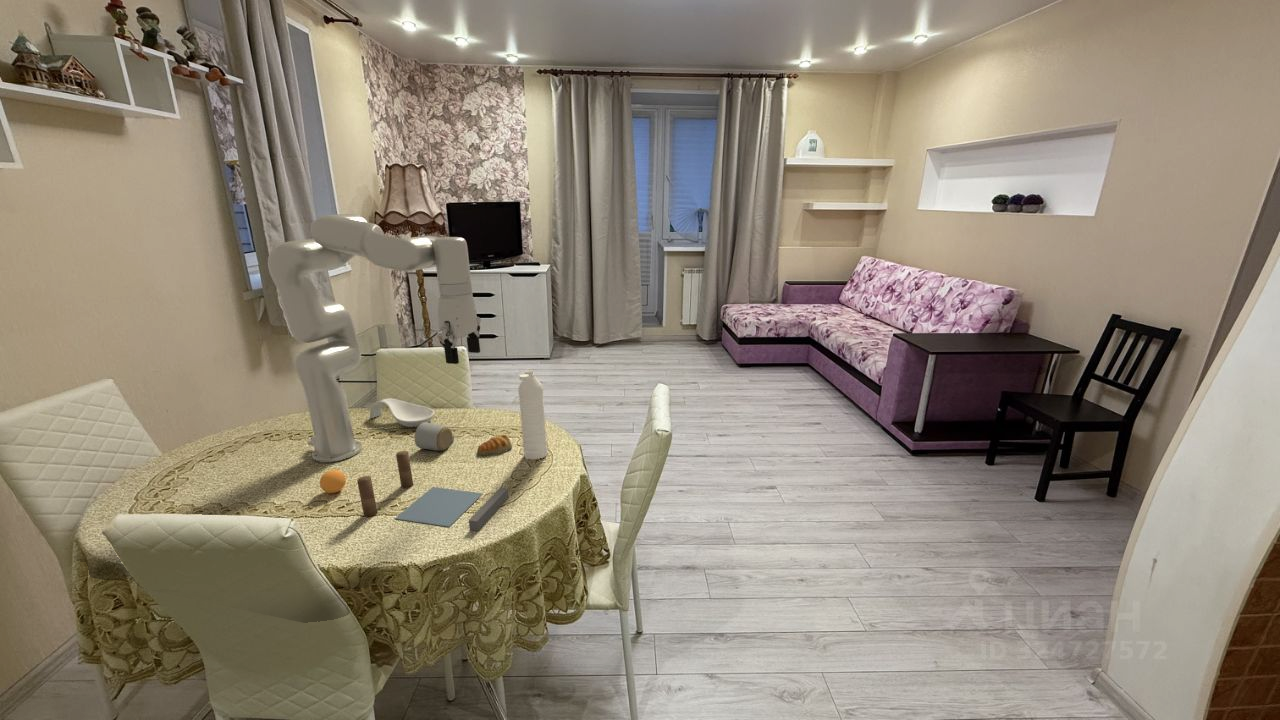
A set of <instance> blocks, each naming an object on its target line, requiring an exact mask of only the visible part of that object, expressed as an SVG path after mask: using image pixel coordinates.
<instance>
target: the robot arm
mask: <svg viewBox="0 0 1280 720" xmlns="http://www.w3.org/2000/svg"><path fill="white" fill-rule="evenodd" d="M310 235H311V238H310V239H298V240H297V239H296V240H291V241H286V242H282V243H279V244H277V245H276V246H274V247H273V248H272V250H270V252H269V254H268V258H267V268H268V272H269V275H270V277H271V279H272V282H273V283H274V285H275V287H276V289H277V291H278V294H279V296H280V300H281V303H282V307H283V310H284V312H285V316H286V320H287V322H288V326H289V328H290V329H289V330H290V332H291V334H292V336H293V338H294V339H295V340H296V341H297V342H299V343H302V344H312V343H315V342H319V341H322V340H326V339H327V342H326V343H322V344H318V345H315V346H313V347H309V348H307V349H305V350H303V351H302V352H300V353H299V354H298V355H297V356H296V358H295V360H294V369H295V370H294V371H295V372H296V375H297V377H298V379H299V380H300V383H301V386H302V388H303V392H304V396H305V401H306V404H307V407H308V413H309V417H310V423H311V428H312V431H313V435H312V436H310V439H309V440H308V441H307V446H310V447H311V446H312V447H314V448H313V449H314V450H313V452H312V453H311V457H312V458H313V459H314V460H313V459H312V460H313V461H315V460H316V461H315V462H317V461H320V462H319V463H333V462H334V461H335V462H339V461H340V462H341V461H343V459H344V460H347V459H348V458H349V459H350V458H352V457H354V456H355V455H358V453H360V451H361V450H362V449H363V445H362V442H361V441H358V440H356V439H355V435H354V431H353V425H352V420H351V419H352V418H351V415H350V409H349V404H348V399H347V394H346V391H345V389H344V387H343V386H342V385H341V383H339V381H338V380H337V379H336V377H339V376H340V375H343V374H345V373H348V372H350V371H352V370H355V369H356V368H357V367H358V366H359V365H360V363H361V361H362V352H361V347H360V345H359V344H360V343H359V340H358V336H357V333H356V328H355V325H354V321H353V318H352V315H351V314H350V312H349V311H348V309H347V308H346V307H345V306H344V305H343V304H341V303H339V302H336V301H326V302H322V301H321V299H320V295H319V291H318V289H317V287H316V286H315V284H314V283H313V282H312V281H311V280H310V279H309V278H308V277H307V276H306V275H307V274H312V273H321V272H327V271H333V270H336V269H337V270H338V269H339V268H342V267H343V266H345V265H346V264H347V263H349V261H350V260H352V259H353V258H354V257H355V256H358V257H361V258H365V259H367V260H368V261H369V262H371V263H372V264H374V265H375V266H377V267H382V268H385V269H389V270H395V271H399V272H414V271H418V270H423V269H431V268H436V274H437V275H436V276H437V283H438V285H437V286H438V291H439V292H438V293H439V298H438V306H437V309H438V311H437V312H438V313H437V314H438V327H439V328H438V331H437V333H436V336H437V338H438V340H439V343H440V345H441V346H442V348H443V349H444V358H445V362H446V364H451V365H458V364H459V363H460V360H459V353H458V352H459V351H458V347H456V345H457V343H458V339H460V338H461V339H462V338H463V337H465V336H467V337H466V343H467V351H468V353H469V354H470V353H473V354H474V353H475V354H479V353H480V352H481V347H480V346H481V345H480V336H481V335H480V331H481V321H482V320H481V317H479V316H477V310H476V304H475V300H474V296H473V295H474V294H473V285H472V279H471V276H472V275H471V269H470V260H469V259H470V258H469V250H468V249H469V248H468V244H467V241H466V239H465V238H463V237H461V236H460V237H459V236H446V237H439V236H433V235H422V236H413V237H412V236H411V237H403V238H401V237H397V236H396V237H395V236H390V235H386V234H385V233H384V231H383V229H382V228H381V226H379V225H378V224H376V223H373V222H368V221H367V220H366V218H364V217H362V216H360V215H358V214H355V213H343V214H342V213H341V214H326V215H321V216H319V217H317V218H316V219H315V220H313V222H312V223H311V226H310ZM346 458H347V459H346Z"/></svg>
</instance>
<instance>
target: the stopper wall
mask: <svg viewBox="0 0 1280 720" xmlns="http://www.w3.org/2000/svg"><path fill="white" fill-rule="evenodd" d="M509 498H510V496H509V488H508V487H499V488H498V489H497V490H496V491H495V492H494V493H493V495H491V496H490V497H489V498H488V499H487V500H486V501H485V503H483V505H482V506H480V508H479V509H478V510H477V511H476V512H475V513H474V514H473V515H472V516H471V517H470V518H469V519H468V526H469V527H468V528H469V531H473V532H479V531H480V530H481V529H482V528H483V527H484V526H485V524H486V523H487V522H488V521H489V520H490V519H491V517H493V516H494V514H495V513H496V512H497V511H498V510H499V509H500V508H501V507H502V506H503V504H504V503H505V502H507V500H509Z"/></svg>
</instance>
